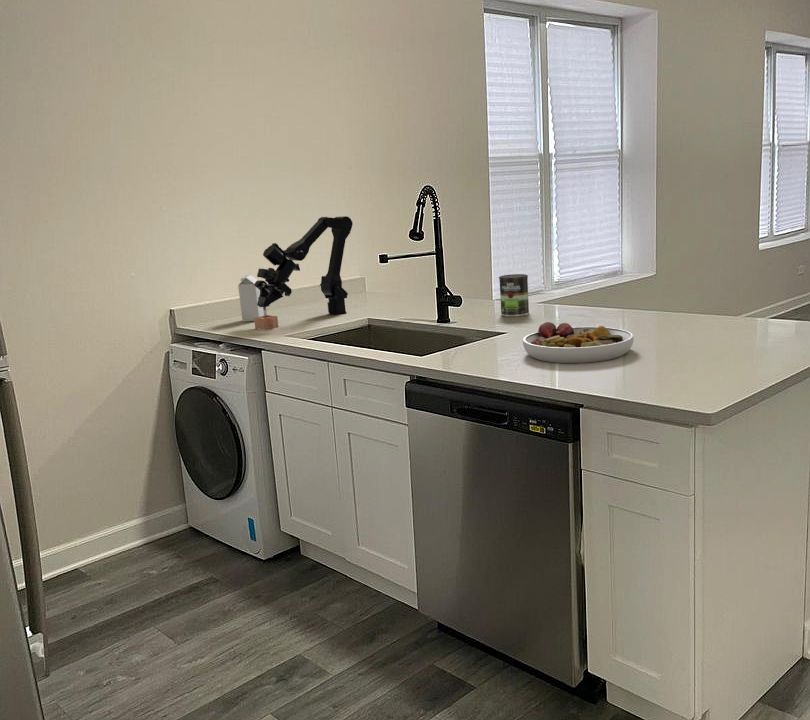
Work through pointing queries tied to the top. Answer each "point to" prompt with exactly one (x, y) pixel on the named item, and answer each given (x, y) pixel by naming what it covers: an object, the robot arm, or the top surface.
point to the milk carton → (249, 298)
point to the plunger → (261, 302)
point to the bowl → (577, 343)
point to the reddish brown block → (266, 322)
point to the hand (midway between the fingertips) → (261, 305)
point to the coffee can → (514, 295)
